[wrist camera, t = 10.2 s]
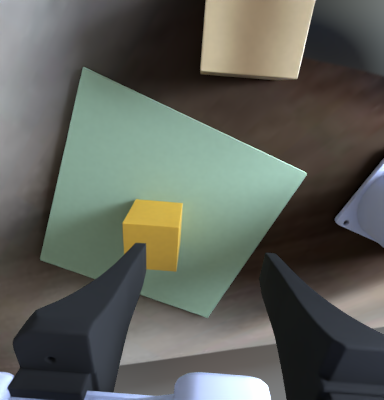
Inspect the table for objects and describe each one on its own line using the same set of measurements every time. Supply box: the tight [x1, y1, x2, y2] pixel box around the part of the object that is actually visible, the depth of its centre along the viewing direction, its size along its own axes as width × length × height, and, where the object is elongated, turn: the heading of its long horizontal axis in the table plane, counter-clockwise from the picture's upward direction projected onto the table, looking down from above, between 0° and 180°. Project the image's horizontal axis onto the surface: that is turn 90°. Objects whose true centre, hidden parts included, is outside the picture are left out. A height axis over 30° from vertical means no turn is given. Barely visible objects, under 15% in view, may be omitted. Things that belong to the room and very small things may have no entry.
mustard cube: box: [122, 199, 183, 272], centre depth 22 cm, size 4×4×4 cm
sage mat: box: [40, 67, 307, 318], centre depth 24 cm, size 20×20×1 cm
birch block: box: [200, 0, 315, 80], centre depth 15 cm, size 6×6×4 cm
